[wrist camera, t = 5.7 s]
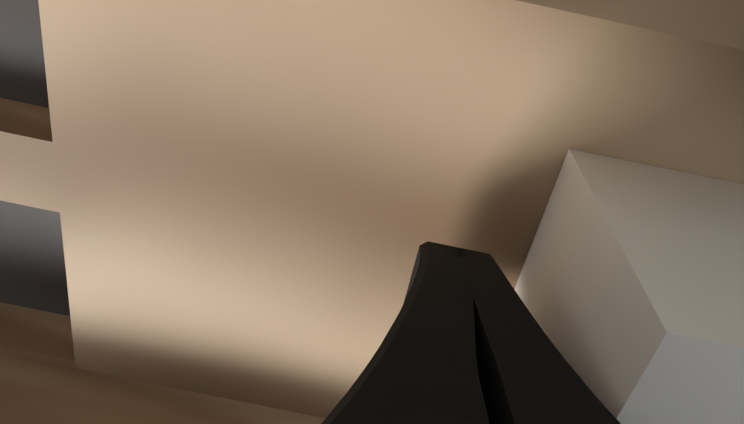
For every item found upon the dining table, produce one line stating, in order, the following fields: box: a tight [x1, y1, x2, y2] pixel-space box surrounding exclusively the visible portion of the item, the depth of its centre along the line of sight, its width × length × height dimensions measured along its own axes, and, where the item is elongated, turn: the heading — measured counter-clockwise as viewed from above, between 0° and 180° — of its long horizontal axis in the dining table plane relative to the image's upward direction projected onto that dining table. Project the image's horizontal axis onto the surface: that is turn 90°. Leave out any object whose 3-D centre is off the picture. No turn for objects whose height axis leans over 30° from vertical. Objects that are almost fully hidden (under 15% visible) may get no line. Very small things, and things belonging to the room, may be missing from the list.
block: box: [514, 149, 744, 424], centre depth 9 cm, size 5×5×4 cm
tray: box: [0, 0, 744, 424], centre depth 11 cm, size 12×24×4 cm, turn 79°
